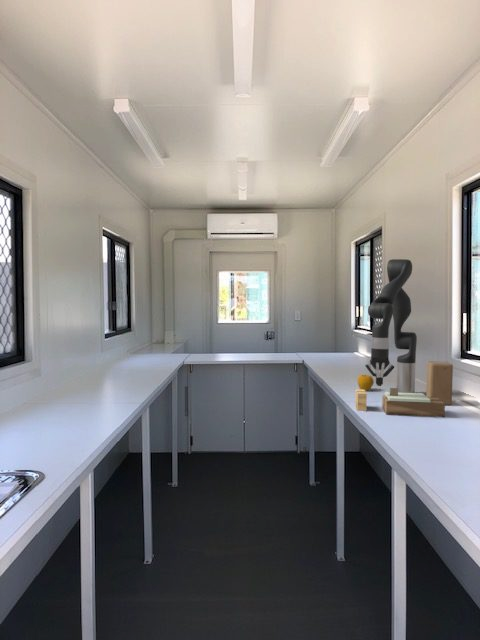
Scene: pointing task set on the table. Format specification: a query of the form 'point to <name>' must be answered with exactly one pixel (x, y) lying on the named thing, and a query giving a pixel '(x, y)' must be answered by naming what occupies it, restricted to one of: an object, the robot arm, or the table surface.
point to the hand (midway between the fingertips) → (379, 385)
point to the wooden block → (439, 381)
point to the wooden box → (414, 407)
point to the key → (361, 400)
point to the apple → (365, 382)
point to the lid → (406, 396)
